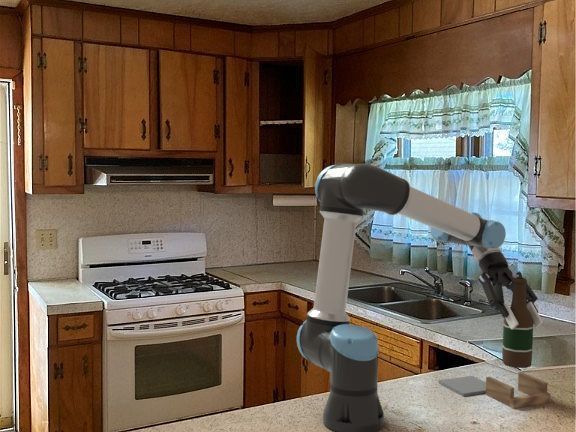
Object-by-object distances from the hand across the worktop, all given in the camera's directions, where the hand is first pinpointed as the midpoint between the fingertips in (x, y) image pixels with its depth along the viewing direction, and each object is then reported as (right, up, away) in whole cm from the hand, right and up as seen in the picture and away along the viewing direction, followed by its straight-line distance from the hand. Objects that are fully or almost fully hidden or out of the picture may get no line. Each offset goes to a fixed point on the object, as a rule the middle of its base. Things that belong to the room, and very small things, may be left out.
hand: (527, 325), depth 169 cm
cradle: (-1, -21, +5) cm, 21 cm away
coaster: (-12, -20, +13) cm, 27 cm away
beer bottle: (-1, -12, +4) cm, 12 cm away
